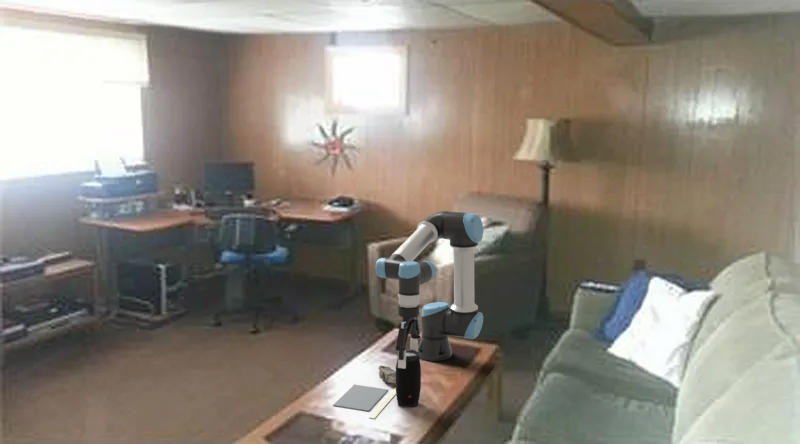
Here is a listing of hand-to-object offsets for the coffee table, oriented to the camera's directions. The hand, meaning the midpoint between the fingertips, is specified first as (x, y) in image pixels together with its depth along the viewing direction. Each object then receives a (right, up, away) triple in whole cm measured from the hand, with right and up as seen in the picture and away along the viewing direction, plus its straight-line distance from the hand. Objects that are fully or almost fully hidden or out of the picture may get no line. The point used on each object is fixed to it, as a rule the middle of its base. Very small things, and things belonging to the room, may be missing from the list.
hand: (407, 361), depth 255 cm
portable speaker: (0, -16, +3) cm, 17 cm away
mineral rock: (-6, -13, +24) cm, 28 cm away
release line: (-8, -16, +5) cm, 18 cm away
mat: (-17, -15, +8) cm, 24 cm away
